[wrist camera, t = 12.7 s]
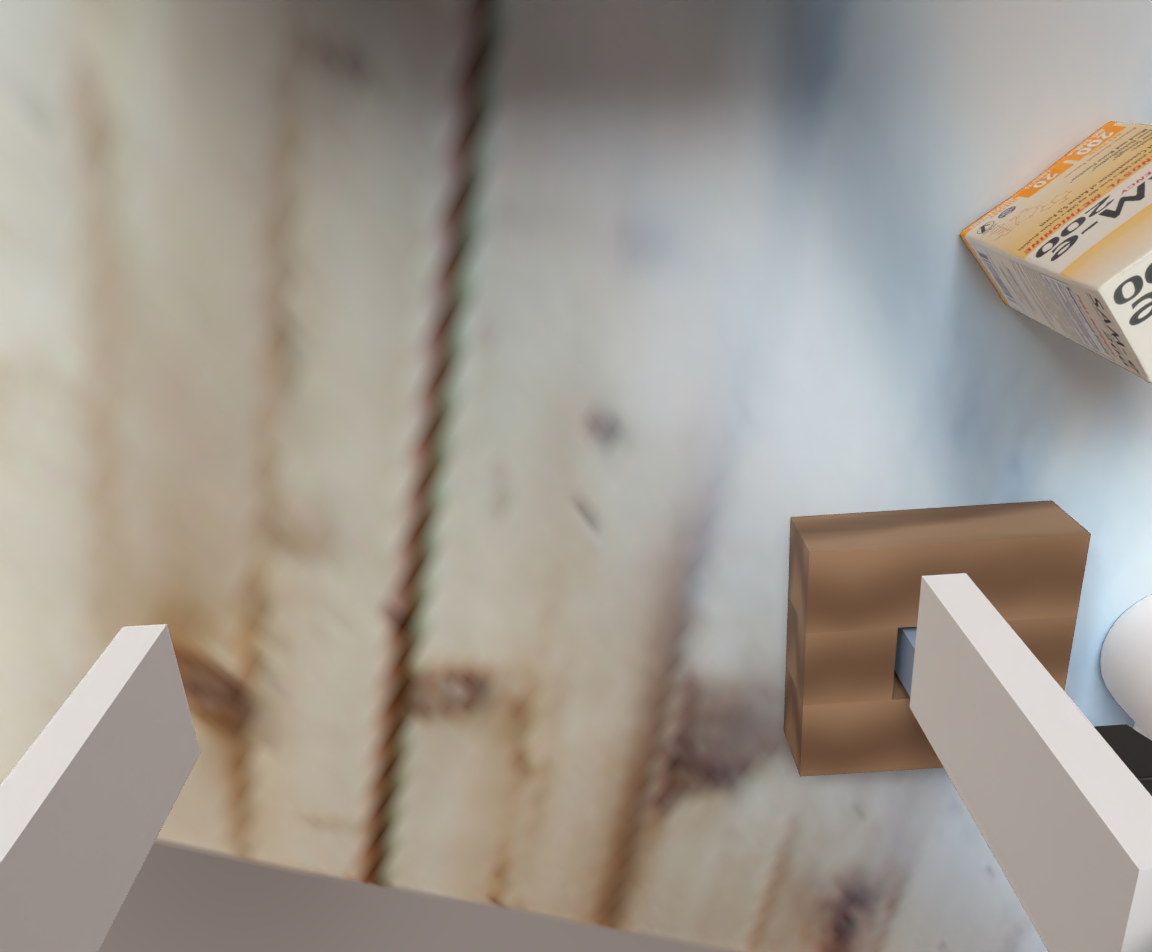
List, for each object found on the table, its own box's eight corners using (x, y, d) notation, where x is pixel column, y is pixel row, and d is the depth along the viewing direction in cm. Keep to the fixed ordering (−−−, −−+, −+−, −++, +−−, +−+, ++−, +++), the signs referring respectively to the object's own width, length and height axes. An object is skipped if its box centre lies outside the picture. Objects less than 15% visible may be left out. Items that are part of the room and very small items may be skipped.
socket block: (790, 517, 51) (809, 551, 47) (1051, 500, 51) (1090, 533, 47) (783, 730, 56) (800, 776, 53) (1019, 715, 56) (1052, 760, 53)
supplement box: (1107, 114, 44) (1320, 130, 31) (1153, 198, 45) (1374, 244, 33) (951, 231, 45) (1096, 289, 33) (1000, 309, 47) (1156, 390, 35)
